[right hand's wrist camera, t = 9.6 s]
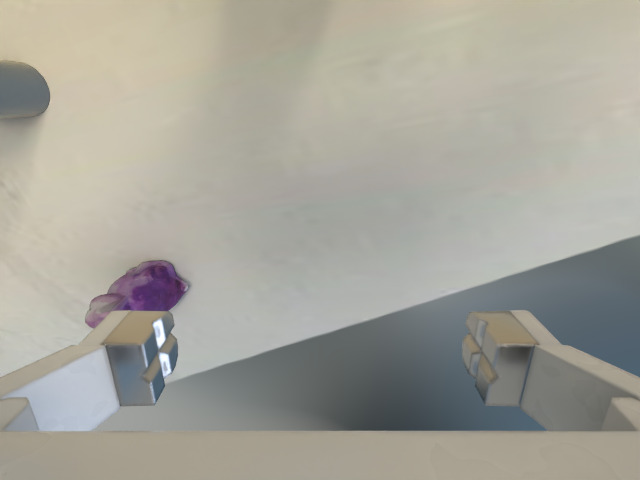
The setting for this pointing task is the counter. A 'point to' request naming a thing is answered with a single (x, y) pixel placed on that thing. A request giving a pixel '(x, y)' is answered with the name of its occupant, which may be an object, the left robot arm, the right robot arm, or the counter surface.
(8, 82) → the bottle
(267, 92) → the counter surface
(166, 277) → the figurine
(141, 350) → the right robot arm
